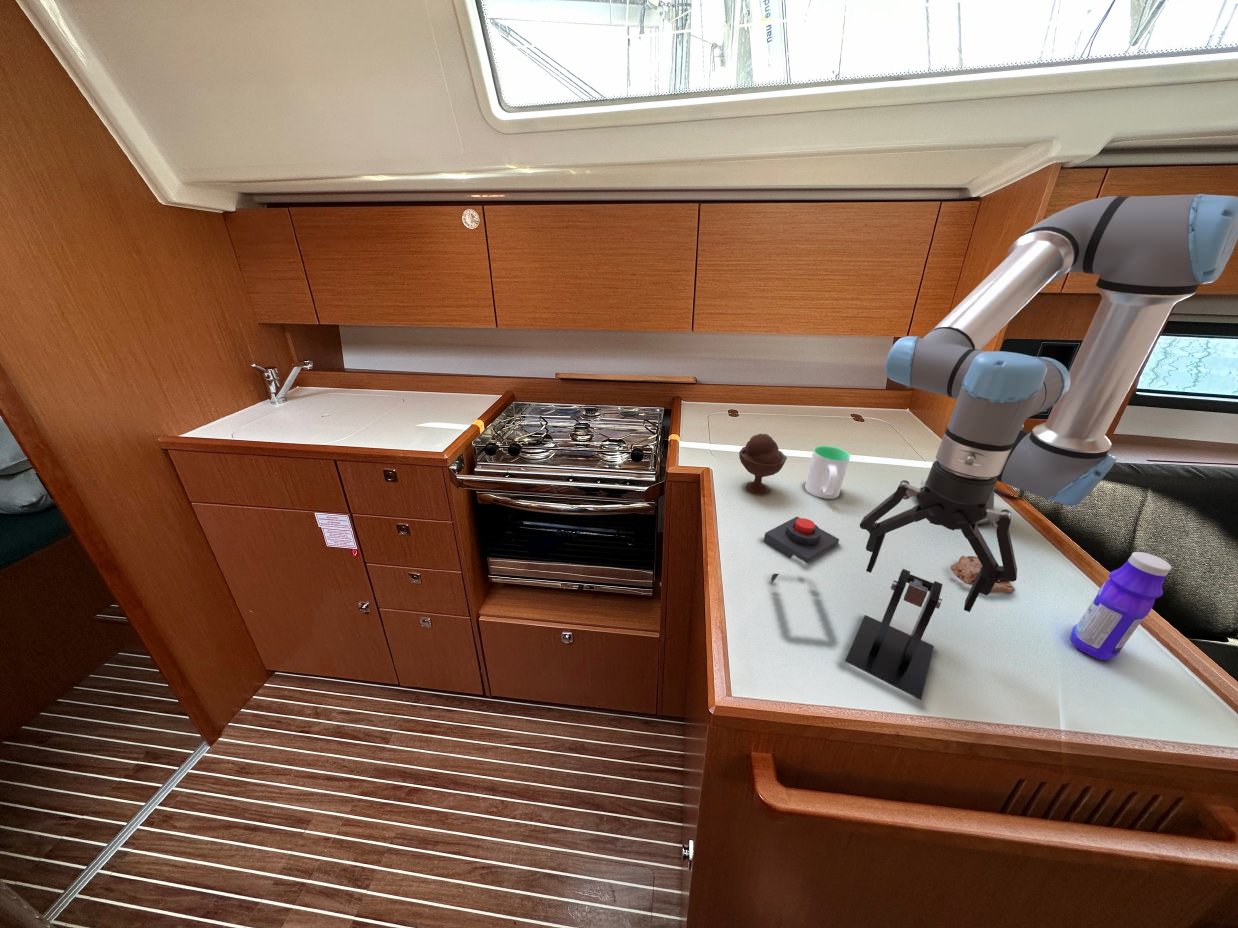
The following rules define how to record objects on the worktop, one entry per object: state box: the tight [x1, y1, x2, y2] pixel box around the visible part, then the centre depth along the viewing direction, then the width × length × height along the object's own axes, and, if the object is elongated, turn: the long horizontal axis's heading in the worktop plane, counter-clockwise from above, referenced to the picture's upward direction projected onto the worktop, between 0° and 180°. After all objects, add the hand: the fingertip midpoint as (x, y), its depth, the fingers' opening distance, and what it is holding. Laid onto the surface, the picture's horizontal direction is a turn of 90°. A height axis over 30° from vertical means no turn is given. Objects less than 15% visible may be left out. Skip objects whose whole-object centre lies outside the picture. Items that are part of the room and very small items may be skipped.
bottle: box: [1070, 551, 1172, 661], centre depth 71 cm, size 7×6×17 cm
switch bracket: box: [844, 568, 943, 701], centre depth 68 cm, size 12×10×15 cm
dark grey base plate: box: [763, 516, 840, 563], centre depth 96 cm, size 11×10×4 cm
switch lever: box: [898, 570, 934, 608], centre depth 70 cm, size 12×5×2 cm, turn 142°
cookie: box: [950, 555, 1016, 594], centre depth 88 cm, size 10×11×3 cm
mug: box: [804, 445, 851, 500], centre depth 113 cm, size 12×8×10 cm
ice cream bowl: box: [738, 433, 788, 495], centre depth 113 cm, size 11×11×15 cm
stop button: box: [794, 517, 816, 535], centre depth 95 cm, size 4×4×2 cm
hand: (916, 586), depth 74 cm, fingers open, 13 cm apart
